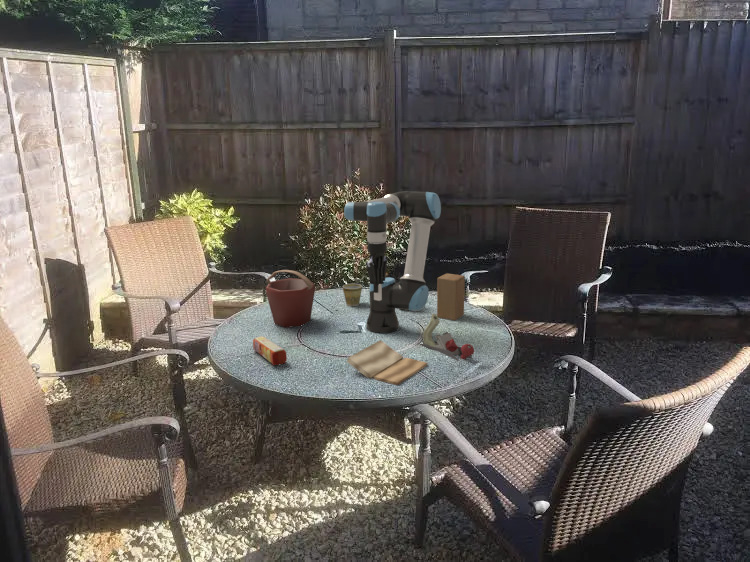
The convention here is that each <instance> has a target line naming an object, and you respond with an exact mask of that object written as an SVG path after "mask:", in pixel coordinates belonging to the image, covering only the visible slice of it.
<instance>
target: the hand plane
mask: <svg viewBox="0 0 750 562" xmlns="http://www.w3.org/2000/svg"><path fill="white" fill-rule="evenodd" d="M439 319H440V318H438V317H437V313H432V314H431V318H430V321H429V323H428V324H427V326H426V327H425V329H424V331H423V334H422V335H423V339H422V341H419V342H420V343H421V342H423V344H420V343H419V342H418V343H417V345H419V344H420V345H419V346H421V345H422V346H421V347H423V346H424V347H423V348H425V347H426V348H425V349H427V348H428V349H427V350H430V351H431V350H432V351H435V352H439V353H441V354H443V355H445V356H447V357H450V358H451V359H453V360H455V361H460V360H466V359H467V358H468V359H472V360H474V358H473V357H472V356H473V355H474V352H475V349H474V346H473V345H472V344H470V343H465V344H463V345H461V346H459V345H457V344H456V341H455V340H454V338H453V335H452V334H451V333H449V332H448V331H445V332H444V333H443V334H440V333H439V334H436V335H435V336H434V338H435V340H434V339H433V337H432V335H433V332H434V330H435V329H436V328H437V326H439V324H440V322H441V321H440V320H439ZM457 355H458V357H459V359H460V360H459V359H458V358H457V357H456V356H457Z"/></svg>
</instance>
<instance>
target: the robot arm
mask: <svg viewBox="0 0 750 562" xmlns="http://www.w3.org/2000/svg"><path fill="white" fill-rule="evenodd" d="M343 210H344V212H343V215H344V217H345V219H346V220H347V221H353V222H366V225H367V226H366V227H367V231H366V233H367V234H366V236H367V237H366V241H367V252H368V253H369V257H368V259H369V260H368V261H366V262H365V265H366V268H367V274H368V280H369V281H368V282H369V290H368V292H369V315H368V318H367V320H366V324H365V326H366V329H367V331H369V330H370V332H372V331H373V332H372V333H377V332H388V333H393V332H396V331H398V330H399V329H400V322H399V319H398V315H397V312H396V309H399V310H407V311H409V312H410V311H415V312H416V311H417V312H419V311H422V310H423V309H424V307H426V305H427V302H428V299H429V295H430V293H429V290H430V289H429V288H428V286H427V285H426V281H425V279H424V272H425V266H426V259H427V252H428V246H429V239H430V231H431V227H432V226H433V225H434V224H435V220H438V219H439V218H440V216H441V214H442V213H441V211H442V206H441V200H440V197H439V195H438V194H437V193H435V192H429V191H413V190H411V191H409V190H407V191H406V190H404V191H398V192H397V191H396V192H394V193H389V194H386V195H384V197H381V198H376V199H371V200H365V201H359V202H358V201H357V202H355V201H348V202H347V203H346V204H345V206H344V209H343ZM400 216H401V217H405V218H407V217H408V218H409V219H408V221H410V224H411V225H410V232H409V241H408V246H407V251H406V259H405V266H404V270H403V271H404V273H403V276H401V277H400V278H399V282H396V279H395V278H394V277H386V276H387V275H386V274H387V270H388V269H387V268H388V261H389V256H387V255H386V252H387V250H388V249H387V248H388V247H387V245H388V243H387V235H388V234H387V224H391V223H393V222H395V221H396V220H398V219H399V217H400ZM397 329H398V330H397ZM395 330H396V331H395ZM392 331H393V332H392Z"/></svg>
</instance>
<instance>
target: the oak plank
mask: <svg viewBox="0 0 750 562" xmlns="http://www.w3.org/2000/svg"><path fill="white" fill-rule="evenodd" d="M427 366H428V362H426V361H423V360H422V361H421V360H417V359H412V358H409V357H403V359H402V360H401V361H399V362H398V363H396V364H394V365H393V366H391V367H390V368H388V369H386V370H385V371H383V372H381V373H380V374H378V375H377V376H375V378H374V380H377V381H380V382H383V383H388V384H390V385H391V384H392V385H395V386H399V385H400V384H401V383H403V382H405V381H406V380H408V379H409V378H410V377H412V376H413V375H416V374H417V373H419V371H421V370H422V369H424V368H425V367H427Z"/></svg>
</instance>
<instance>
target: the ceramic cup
mask: <svg viewBox="0 0 750 562" xmlns="http://www.w3.org/2000/svg"><path fill="white" fill-rule="evenodd" d="M362 289H363V285H362V284H360V283H346V284H343V285H342V290H343V294H344V300H345V303H346V306H347V307H351V306H352V307H358V306H359V305H360V302H361V296H362V291H363V290H362Z"/></svg>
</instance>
